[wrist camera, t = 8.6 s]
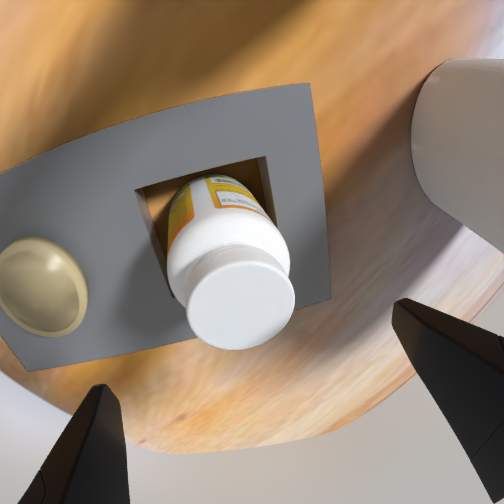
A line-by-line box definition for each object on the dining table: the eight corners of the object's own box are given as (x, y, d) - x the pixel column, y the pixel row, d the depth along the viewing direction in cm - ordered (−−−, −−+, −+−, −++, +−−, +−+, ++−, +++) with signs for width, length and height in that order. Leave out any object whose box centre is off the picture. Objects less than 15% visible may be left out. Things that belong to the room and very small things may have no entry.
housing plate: (293, 83, 17) (321, 82, 13) (317, 279, 24) (340, 311, 20) (-45, 199, 14) (-76, 221, 11) (35, 350, 21) (23, 385, 18)
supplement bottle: (189, 265, 21) (203, 379, 12) (154, 193, 18) (137, 281, 10) (265, 235, 21) (325, 332, 13) (239, 159, 18) (295, 217, 10)
